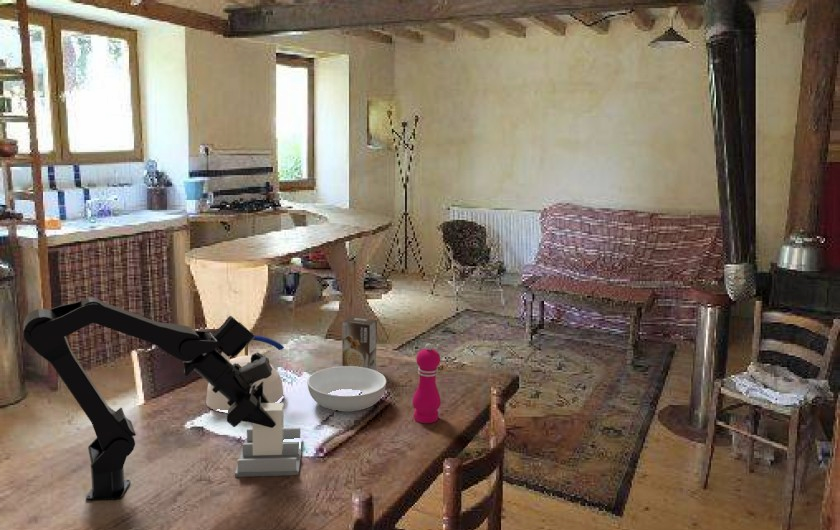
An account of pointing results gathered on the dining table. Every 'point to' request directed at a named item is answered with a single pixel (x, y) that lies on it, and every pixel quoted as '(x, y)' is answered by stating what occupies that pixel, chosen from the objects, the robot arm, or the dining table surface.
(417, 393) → the pepper mill
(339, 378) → the serving bowl
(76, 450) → the dining table surface
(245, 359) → the kettle
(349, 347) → the coffee box
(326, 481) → the dining table surface
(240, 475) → the plate rack
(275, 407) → the cream upright block
